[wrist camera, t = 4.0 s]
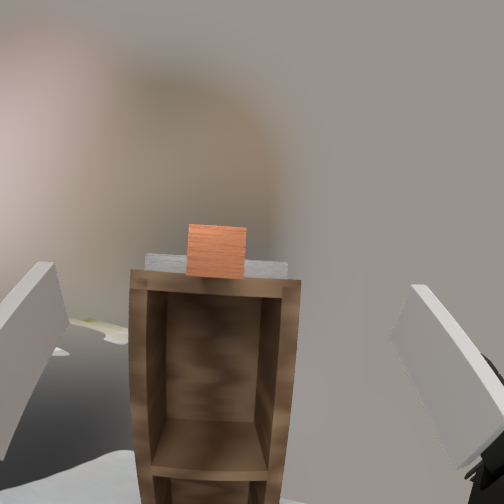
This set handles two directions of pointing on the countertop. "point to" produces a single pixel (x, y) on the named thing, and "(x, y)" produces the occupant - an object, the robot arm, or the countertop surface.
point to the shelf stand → (211, 385)
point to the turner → (216, 256)
